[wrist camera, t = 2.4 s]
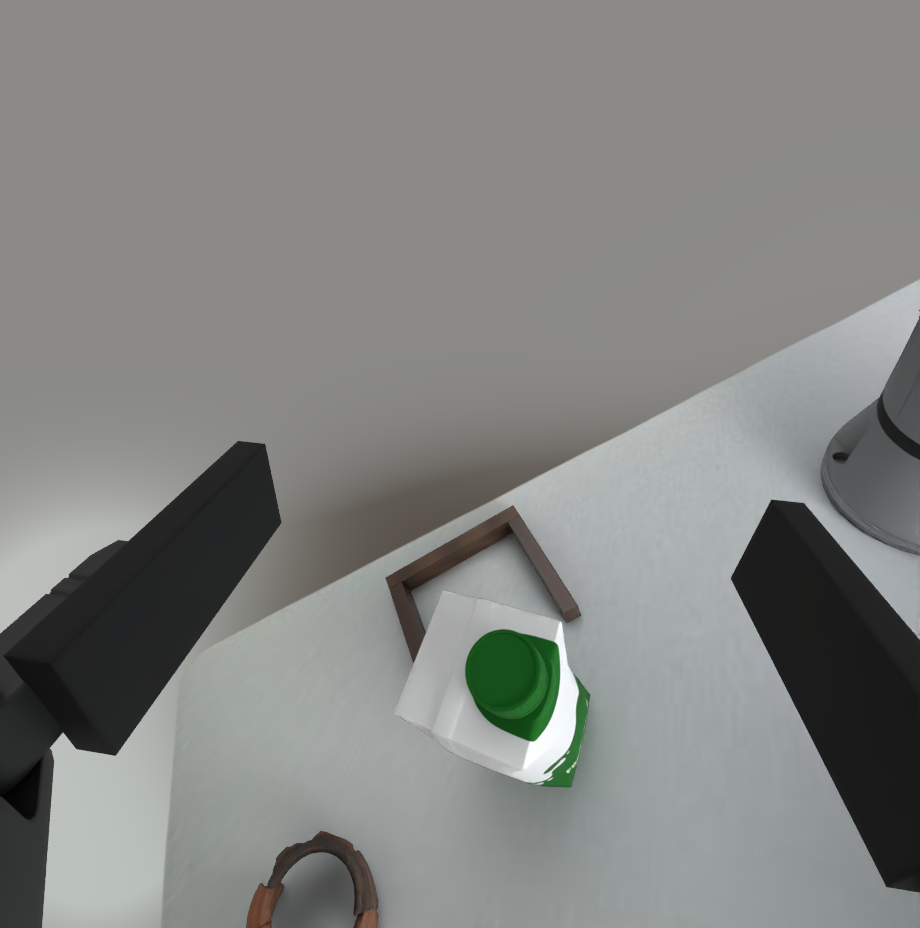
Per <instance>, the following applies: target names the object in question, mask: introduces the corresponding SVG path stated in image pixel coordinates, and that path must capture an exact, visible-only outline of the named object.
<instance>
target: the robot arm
mask: <svg viewBox="0 0 920 928" xmlns="http://www.w3.org/2000/svg"><path fill="white" fill-rule="evenodd" d="M919 311H920V310H919ZM821 476H822V481H823V485H824V488H825V490H826V492H827V494H828V496H829V498H830V500H831V501H832V502H833V504H834V505H835V506H836V508H837V509H838V510H839V511H840V512H841V513H842V514H843V515H844V516H845V517H846V518H847V519H848V520H849V521H851V522H852V523H853V524H854V525H856V526H857V527H858V528H860V529H861V530H863V531H864V532H866V533H867V534H869V535H871V536H872V537H874V538H876V539H878V540H880V541H882V542H884V543H886V544H888V545H891V546H893V547H895V548H898V549H901V550H903V551H906V552H909V553H913V554H916V555H919V556H920V316H919V320H918V322H917V324H916V326H915V328H914V330H913V332H912V334H911V336H910V338H909V340H908V342H907V344H906V346H905V348H904V350H903V352H902V354H901V356H900V358H899V360H898V362H897V364H896V366H895V368H894V370H893V372H892V374H891V375H890V377H889V379H888V381H887V383H886V385H885V388H884V390H883V392H882V394H881V395H880V397H879V398H878V399H877V400H875V401H874V402H873V403H872V404H870V405H869V406H868V407H867V408H865V409H864V410H863V411H861V412H860V413H859V414H858V415H856V416H855V417H854V418H853V419H851V420H850V421H849V422H848V423H846V424H845V425H844V426H843V427H842V428H841V429H840V430H839V431H838V432H837V433H836V434H835V436H834V437H833V438H832V440H831V442H830V444H829V445H828V448H827V450H826V452H825V455H824V457H823V460H822V465H821ZM280 524H281V519H280V514H279V509H278V504H277V499H276V494H275V490H274V485H273V480H272V475H271V470H270V465H269V461H268V456H267V451H266V446H265V444H260V443H251V442H242V441H238V442H237V443H235V444H234V445H233V447H231V448H230V449H229V450H228V451H227V452H226V453H225V454H223V456H221V457H220V458H219V459H218V460H217V461H216V462H215V463H214V464H213V465H211V466H210V467H209V468H208V469H207V470H206V471H205V472H204V473H203V474H202V475H200V476H199V477H198V478H197V479H196V480H195V481H194V482H193V483H192V484H191V485H190V486H188V487H187V488H186V489H185V490H184V491H183V492H182V493H181V494H180V495H179V496H177V497H176V498H175V499H174V500H173V501H172V502H171V503H170V504H169V505H168V506H166V507H165V508H164V509H163V510H162V511H161V512H160V513H159V514H158V515H157V516H156V517H154V518H153V519H152V520H151V521H150V522H149V523H148V524H147V525H146V526H145V527H144V528H142V529H141V530H140V531H139V532H138V533H137V534H136V535H135V536H134V537H133V538H131V539H130V540H129V541H121V540H118V541H116V542H114V543H112V544H110V545H109V546H107V547H105V548H103V549H101V550H99V551H98V552H96V553H94V554H92V555H91V556H89V557H88V558H87V559H86V560H85V561H84V562H82V563H81V564H80V565H79V566H78V567H77V568H76V569H74V570H73V571H72V572H71V573H70V574H69V577H68V578H64V579H63V580H62V581H61V582H60V583H58V584H57V585H56V586H55V587H54V588H52V589H51V593H50V594H46V595H44V596H43V597H42V598H41V599H40V600H39V601H38V602H36V603H35V604H34V605H33V606H32V607H31V608H29V609H28V610H27V611H26V612H25V613H24V614H22V615H21V616H20V617H19V618H18V619H17V620H16V621H14V622H13V623H12V624H11V625H10V626H9V627H7V629H5V630H4V631H3V632H2V633H1V634H0V928H42V918H43V904H44V890H45V877H46V863H47V849H48V836H49V822H50V809H51V795H52V782H53V768H54V759H53V755H52V751H51V749H50V747H51V746H52V745H53V743H54V742H55V741H56V740H57V739H58V737H59V736H60V735H61V734H62V733H63V732H64V734H65V735H66V736H67V738H68V739H69V740H70V741H71V743H72V744H73V745H74V747H75V748H76V749H79V750H85V751H91V752H97V753H103V754H109V755H114V756H115V755H116V754H117V753H118V752H119V750H120V749H121V747H122V746H123V745H124V743H125V742H126V740H127V739H128V737H129V736H130V735H131V733H132V732H133V730H134V729H135V728H136V726H137V725H138V724H139V722H140V721H141V719H142V718H143V716H144V715H145V713H146V712H147V711H148V709H149V708H150V707H151V705H152V704H153V702H154V701H155V699H156V698H157V697H158V695H159V694H160V693H161V691H162V689H163V688H164V687H165V686H166V684H167V683H168V681H169V680H170V679H171V677H172V676H173V674H174V673H175V671H176V670H177V669H178V667H179V666H180V664H181V663H182V662H183V660H184V659H185V657H186V656H187V655H188V653H189V652H190V650H191V649H192V648H193V646H194V645H195V643H196V642H197V641H198V639H199V638H200V636H201V635H202V634H203V632H204V631H205V629H206V628H207V627H208V625H209V624H210V622H211V621H212V619H213V618H214V617H215V615H216V614H217V613H218V611H219V610H220V608H221V607H222V605H223V604H224V603H225V601H226V600H227V598H228V597H229V596H230V594H231V593H232V591H233V590H234V588H235V587H236V586H237V584H238V583H239V582H240V580H241V579H242V577H243V576H244V574H245V573H246V572H247V570H248V569H249V568H250V566H251V565H252V563H253V562H254V561H255V559H256V558H257V556H258V555H259V554H260V552H261V550H262V549H263V548H264V546H265V545H266V544H267V542H268V541H269V539H270V538H271V537H272V535H273V534H274V532H275V531H276V530H277V528H278V527H279V525H280ZM731 580H732V582H733V584H734V586H735V588H736V590H737V592H738V594H739V596H740V598H741V600H742V602H743V604H744V606H745V608H746V610H747V612H748V614H749V616H750V618H751V619H752V621H753V623H754V625H755V627H756V629H757V631H758V633H759V635H760V637H761V639H762V641H763V643H764V645H765V647H766V649H767V651H768V653H769V655H770V657H771V659H772V661H773V663H774V665H775V667H776V669H777V671H778V673H779V675H780V677H781V679H782V681H783V683H784V685H785V687H786V689H787V691H788V693H789V695H790V697H791V699H792V701H793V703H794V705H795V707H796V709H797V711H798V713H799V714H800V716H801V718H802V720H803V722H804V724H805V726H806V728H807V730H808V732H809V734H810V736H811V738H812V740H813V742H814V744H815V746H816V748H817V750H818V752H819V754H820V756H821V758H822V760H823V762H824V764H825V766H826V768H827V770H828V772H829V774H830V776H831V778H832V780H833V782H834V784H835V786H836V788H837V790H838V792H839V794H840V796H841V798H842V800H843V802H844V804H845V806H846V807H847V809H848V811H849V813H850V815H851V817H852V819H853V821H854V823H855V825H856V827H857V829H858V831H859V833H860V835H861V837H862V839H863V841H864V843H865V845H866V847H867V849H868V851H869V853H870V855H871V857H872V859H873V861H874V863H875V865H876V867H877V869H878V871H879V873H880V875H881V877H882V879H883V881H884V883H885V885H886V887H890V888H896V889H902V890H908V891H914V892H920V640H919V639H918V638H917V636H916V635H915V634H914V633H913V632H912V630H911V629H910V628H909V627H908V626H907V625H906V623H905V622H904V621H903V620H902V619H901V617H900V616H899V615H898V614H897V613H896V612H895V610H894V609H893V608H892V607H891V606H890V604H889V603H888V602H887V601H886V600H885V599H884V597H883V596H882V595H881V594H880V593H879V591H878V590H877V589H876V588H875V587H874V586H873V584H872V583H871V582H870V581H869V580H868V578H867V577H866V576H865V575H864V574H863V573H862V571H861V570H860V569H859V568H858V567H857V565H856V564H855V563H854V562H853V561H852V560H851V558H850V557H849V556H848V555H847V554H846V552H845V551H844V550H843V549H842V548H841V547H840V545H839V544H838V543H837V542H836V541H835V539H834V538H833V537H832V536H831V535H830V534H829V532H828V531H827V530H826V529H825V528H824V526H823V525H822V524H821V523H820V522H819V521H818V519H817V518H816V517H815V516H814V515H813V513H812V512H811V511H810V510H809V509H808V508H807V506H806V505H805V504H804V503H797V502H788V501H779V500H771V502H770V504H769V506H768V507H767V509H766V511H765V513H764V515H763V517H762V519H761V521H760V523H759V525H758V527H757V529H756V531H755V533H754V534H753V536H752V538H751V540H750V542H749V544H748V546H747V548H746V550H745V552H744V554H743V556H742V558H741V560H740V561H739V563H738V565H737V567H736V569H735V571H734V573H733V575H732V577H731Z"/></svg>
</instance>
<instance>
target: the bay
mask: <svg viewBox="0 0 920 928" xmlns="http://www.w3.org/2000/svg"><path fill="white" fill-rule="evenodd" d="M512 533H513V534H514V536H515V537H516V539H517V541H518V542H519V544H520V546H521V547H522V549H523V551H524V552H525V554H526V555H527V557H528V559H529V560H530V562H531V564H532V565H533V567H534V569H535V570H536V572H537V574H538V575H539V577H540V579H541V580H542V582H543V584H544V585H545V587H546V588H547V590H548V592H549V593H550V595H551V597H552V598H553V600H554V602H555V603H556V605H557V607H558V608H559V610H560V612H561V613H562V615H563V616H564V618H565V620H566V621H567V623H568V622H570V621H572V620H574V619H575V618H577V617H579V616H581V613H580V611H579V608H578V605H577V604H576V602H575V601H574V599H573V598H572V596H571V594H570V593H569V591H568V590H567V588H566V587H565V585H564V584H563V582H562V580H561V579H560V577H559V576H558V574H557V573H556V571H555V570H554V568H553V566H552V565H551V563H550V562H549V560H548V559H547V557H546V556H545V554H544V552H543V551H542V549H541V548H540V546H539V545H538V543H537V542H536V540H535V538H534V537H533V535H532V534H531V532H530V531H529V529H528V528H527V526H526V524H525V523H524V521H523V520H522V518H521V517H520V515H519V513H518V512H517V510H516V509H515V507H514V506H511V507H509V508H508V509H506V510H504V511H502V512H501V513H499V514H497V515H495V516H494V517H492V518H490V519H488V520H486V521H485V522H483V523H481V524H479V525H478V526H476V527H474V528H472V529H471V530H469V531H467V532H465V533H464V534H462V535H460V536H458V537H456V538H455V539H453V540H451V541H449V542H448V543H446V544H444V545H442V546H441V547H439V548H437V549H435V550H434V551H432V552H430V553H428V554H426V555H425V556H423V557H421V558H419V559H418V560H416V561H414V562H412V563H411V564H409V565H407V566H405V567H404V568H402V569H400V570H398V571H396V572H395V573H393V574H391V575H389V576H388V577H386V580H387V583H388V586H389V589H390V592H391V595H392V598H393V601H394V605H395V608H396V611H397V614H398V617H399V620H400V623H401V626H402V629H403V632H404V635H405V639H406V642H407V645H408V648H409V651H410V654H411V657H412V660H413V663H414V662H415V659H416V657H417V654H418V652H419V649H420V647H421V644H422V642H423V639H424V637H425V634H426V632H425V629H424V626H423V624H422V621H421V618H420V615H419V613H418V610H417V607H416V604H415V602H414V599H413V596H412V593H411V590H413V589H415V588H417V587H418V586H420V585H422V584H424V583H425V582H427V581H429V580H431V579H432V578H434V577H436V576H438V575H439V574H441V573H443V572H445V571H446V570H448V569H450V568H452V567H454V566H455V565H457V564H459V563H461V562H462V561H464V560H466V559H468V558H469V557H471V556H473V555H475V554H476V553H478V552H480V551H482V550H483V549H485V548H487V547H489V546H491V545H492V544H494V543H496V542H498V541H499V540H501V539H503V538H505V537H506V536H508V535H510V534H512Z"/></svg>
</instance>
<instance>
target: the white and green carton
mask: <svg viewBox="0 0 920 928" xmlns="http://www.w3.org/2000/svg"><path fill="white" fill-rule="evenodd" d="M589 697H590V694H589V693H588V692H587V690H586V689H585V688H584V686H583V685H582V684H581V682H580V681H579V680H578V678H577V677H576V676H575V674H574V673H573V671H572V670H571V668H570V666H569V664H568V662H567V656H566V649H565V643H564V636H563V629H562V623H561V622H560V621H559V620H556V619H552V618H548V617H545V616H541V615H538V614H534V613H531V612H527V611H523V610H520V609H516V608H513V607H509V606H505V605H502V604H498V603H496V602H493V601H490V600H486V599H482V598H478V599H475V598H471V597H467V596H463V595H460V594H456V593H452V592H448V591H444V590H443V591H442V594H441V596H440V599H439V601H438V604H437V606H436V609H435V611H434V614H433V616H432V619H431V621H430V624H429V627H428V629H427V632H426V634H425V637H424V639H423V642H422V644H421V647H420V649H419V652H418V654H417V657H416V659H415V662H414V664H413V667H412V669H411V672H410V674H409V677H408V680H407V682H406V685H405V687H404V690H403V692H402V695H401V697H400V700H399V702H398V705H397V707H396V710H395V713H394V714H395V715H397V716H398V717H400V718H402V719H403V720H405V721H407V722H408V723H410V724H412V725H413V726H415V727H417V728H418V729H420V730H421V731H423V732H425V733H426V734H428V735H429V736H431V737H432V738H434V739H435V740H437V742H438V743H439V744H440V745H441V746H442V747H443V748H444V749H446V750H447V751H449V752H451V753H453V754H455V755H458V756H460V757H462V758H464V759H467V760H469V761H472V762H475V763H477V764H479V765H482V766H484V767H486V768H488V769H491V770H494V771H496V772H499V773H502V774H504V775H507V776H510V777H512V778H515V779H518V780H521V781H524V782H526V783H529V784H534V785H539V786H551V787H571V785H572V781H573V777H574V773H575V769H576V765H577V761H578V757H579V753H580V748H581V744H582V739H583V735H584V729H585V724H586V718H587V713H588V705H589Z"/></svg>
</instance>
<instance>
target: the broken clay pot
mask: <svg viewBox="0 0 920 928" xmlns="http://www.w3.org/2000/svg"><path fill="white" fill-rule="evenodd" d="M317 852H325V853H330V854H332V855H334V856H336V857H338V858H339V859H340V860H341V861H342V862H343V863H344V864H345V865H346V867H347V869H348V870H349V872H350V875H351V877H352V880H353V884H354V892H355V904H354V915H355V916H356V915H358V916H357V919H356V922H355V925H354V928H377V923H378V914H377V913H376V910H377V908H378V899H377V893H376V889H375V885H374V881H373V878H372V874H371V872H370V869H369V867H368V864H367V862H366V861H365V859H364V857H363V855H362V854H361V852H360V851H355V850H354V848H353V845H352V844H351V843H350V842H349V841H347V840H345V839H343V838H340V837H337V836H334V835H332V834H330V833H327V832H323V831H320V832H319V833H318V834H317V835H316V836H315V837H314V838H313V839H312V840H310V841H307V842H305V843H296V844H294V845H293V846H291V847H286V848H285V849H284V850H283V851H282V852H281V853H280V854H279V855H278V856H277V858H276V863H275V866H274V869H273V874H272V876H271V878H270V880H269V882H268V886H264V885H263V884H262V883H260V884H259V886H258V888H257V890H256V892H255V894H254V897H253V899H252V902H251V905H250V909H249V912H248V917H247V925H246V928H272V926H271V919H272V915H273V912H274V908H275V906H276V903H277V900H278V898H279V896H280V893H281V892H282V890H283V887H284V886H283V884H282V883H280V882H281V881H282V879H283V877H284V876H285V874H286V873H287V872H288V870H289V869H290V868H291V867H292V866H293V865H294V864H295V863H296V862H298V861H299V860H300V859H302V858H303V857H305V856H307V855H309V854H311V853H317Z"/></svg>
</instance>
